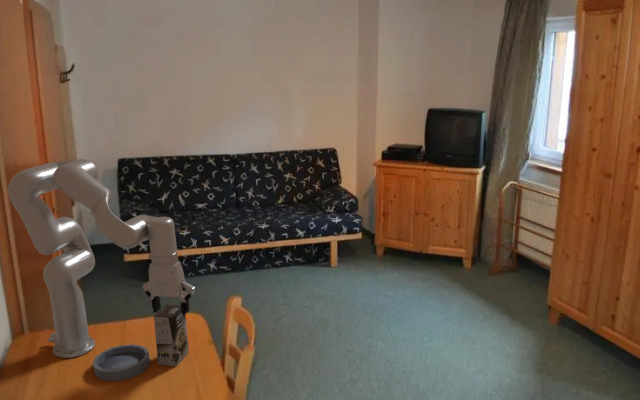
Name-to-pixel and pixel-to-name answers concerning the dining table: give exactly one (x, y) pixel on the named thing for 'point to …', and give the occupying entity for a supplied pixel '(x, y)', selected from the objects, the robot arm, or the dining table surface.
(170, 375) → the dining table surface
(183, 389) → the dining table surface
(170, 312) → the coffee box
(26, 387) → the dining table surface
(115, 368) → the bowl
